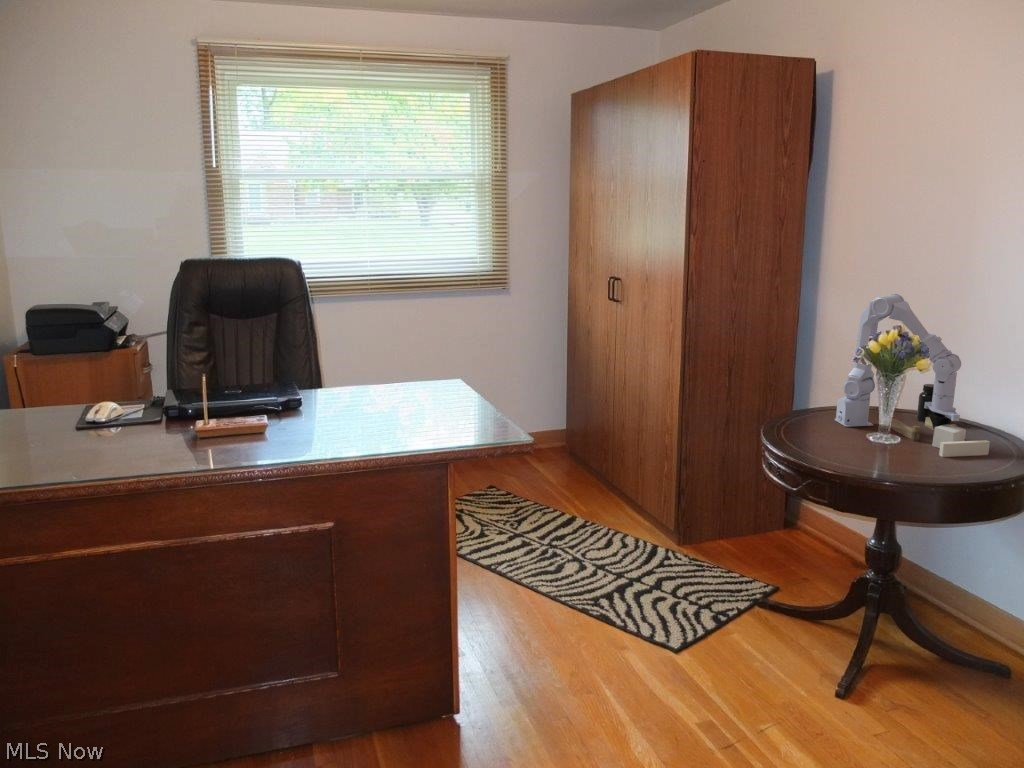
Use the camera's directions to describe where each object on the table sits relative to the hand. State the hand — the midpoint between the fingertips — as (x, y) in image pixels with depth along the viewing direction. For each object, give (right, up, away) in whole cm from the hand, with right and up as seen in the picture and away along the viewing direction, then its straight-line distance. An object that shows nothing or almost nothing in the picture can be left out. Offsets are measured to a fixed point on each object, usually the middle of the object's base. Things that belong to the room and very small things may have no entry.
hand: (938, 437), depth 242 cm
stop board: (+1, -4, -12) cm, 13 cm away
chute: (-1, +1, +9) cm, 9 cm away
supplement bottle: (+8, +4, +22) cm, 24 cm away
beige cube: (0, -3, -5) cm, 6 cm away
